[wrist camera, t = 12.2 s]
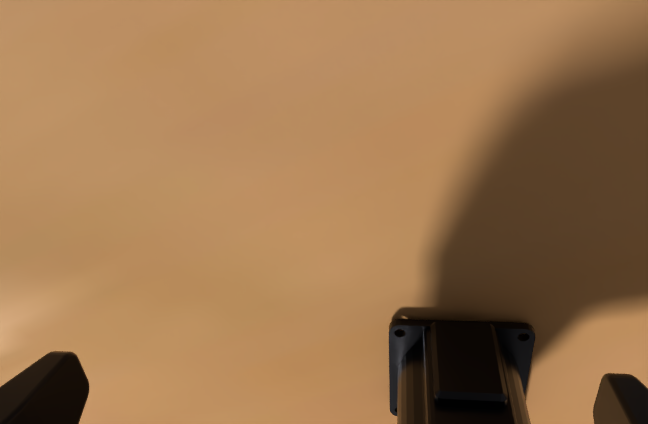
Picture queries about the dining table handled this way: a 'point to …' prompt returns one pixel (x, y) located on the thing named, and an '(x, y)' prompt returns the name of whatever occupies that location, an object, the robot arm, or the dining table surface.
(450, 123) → the dining table surface
